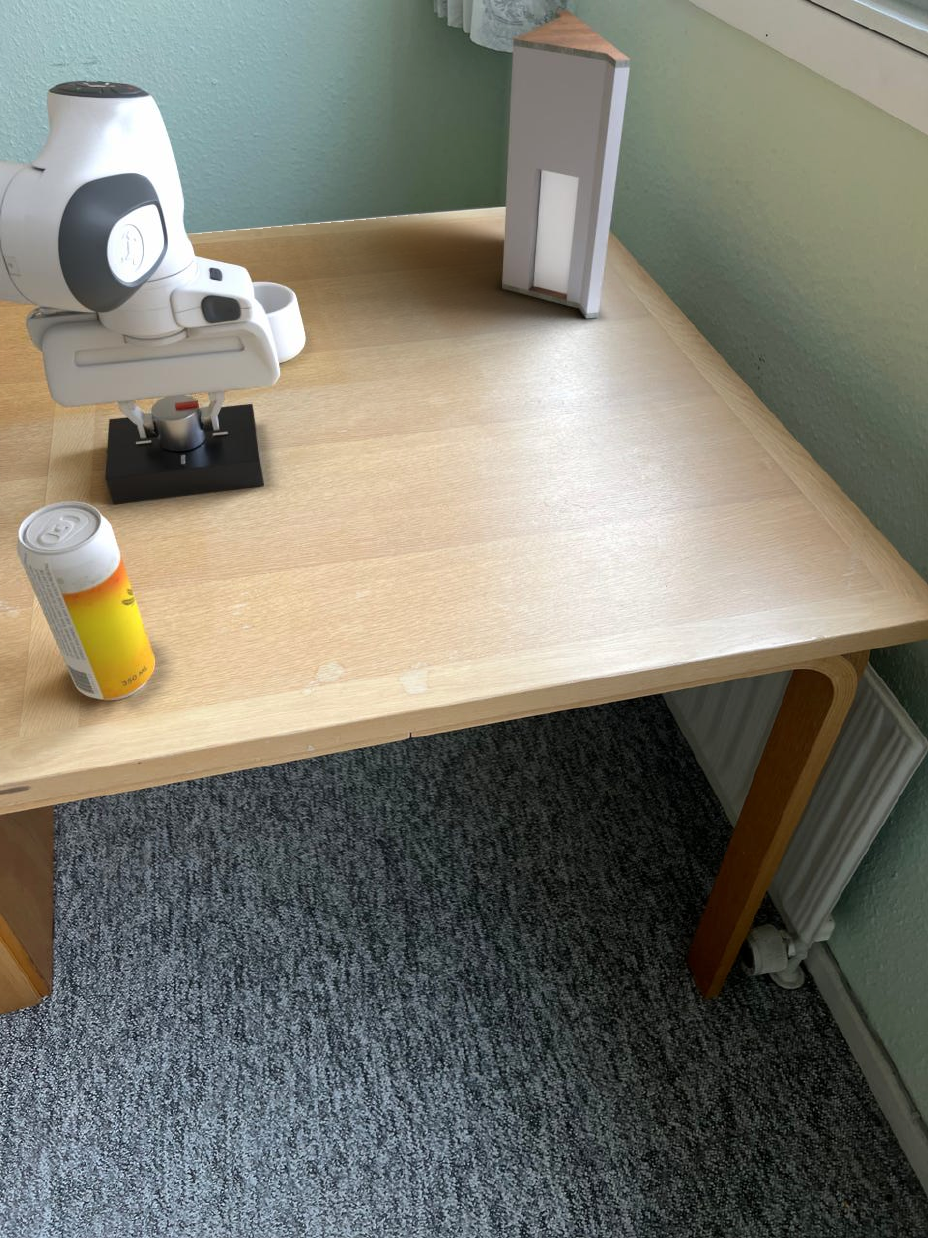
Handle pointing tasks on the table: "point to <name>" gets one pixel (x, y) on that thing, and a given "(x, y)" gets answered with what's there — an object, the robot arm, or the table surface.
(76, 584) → the beer can
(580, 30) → the cabinet
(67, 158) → the robot arm
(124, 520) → the table surface
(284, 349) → the mug
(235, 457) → the panel
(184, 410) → the knob
